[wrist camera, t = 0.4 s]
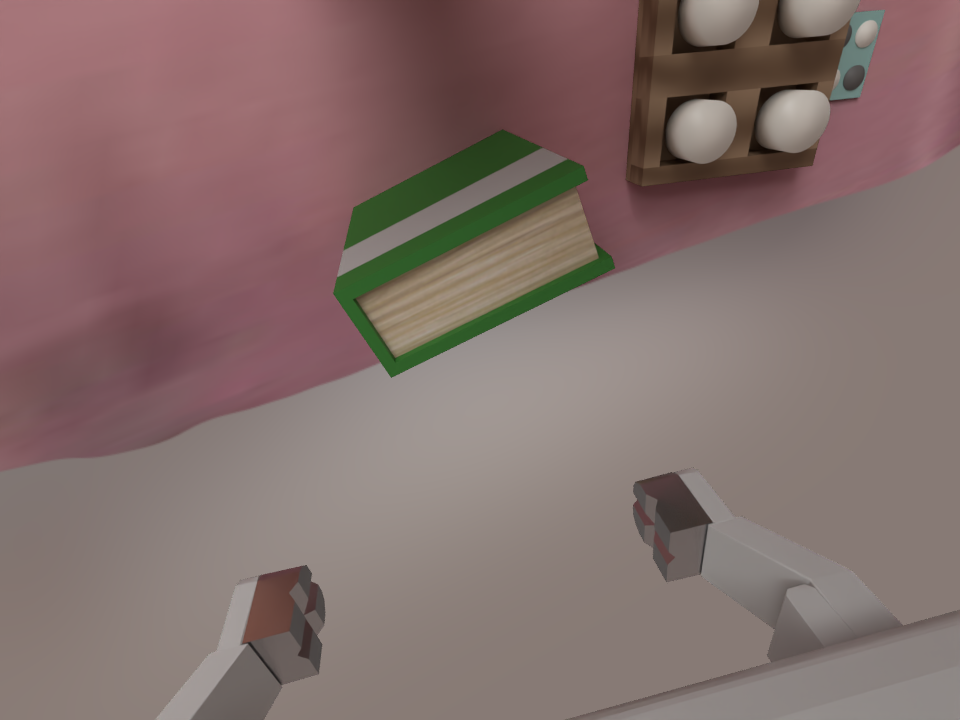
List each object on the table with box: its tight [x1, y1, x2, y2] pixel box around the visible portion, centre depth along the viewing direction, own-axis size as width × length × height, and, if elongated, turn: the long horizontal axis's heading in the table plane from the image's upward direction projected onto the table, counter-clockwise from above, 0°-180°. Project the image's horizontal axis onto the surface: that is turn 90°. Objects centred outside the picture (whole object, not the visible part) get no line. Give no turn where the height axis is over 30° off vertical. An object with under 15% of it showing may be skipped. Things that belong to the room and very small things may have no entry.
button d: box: [754, 90, 830, 153], centre depth 49 cm, size 6×6×3 cm
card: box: [830, 10, 885, 100], centre depth 52 cm, size 8×6×1 cm
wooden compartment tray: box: [626, 0, 851, 186], centre depth 49 cm, size 20×20×4 cm
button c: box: [777, 0, 860, 38], centre depth 44 cm, size 6×6×3 cm
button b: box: [665, 99, 737, 164], centre depth 48 cm, size 6×6×3 cm
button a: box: [678, 0, 759, 47], centre depth 43 cm, size 6×6×3 cm
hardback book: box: [333, 130, 615, 378], centre depth 42 cm, size 18×7×24 cm, turn 115°
